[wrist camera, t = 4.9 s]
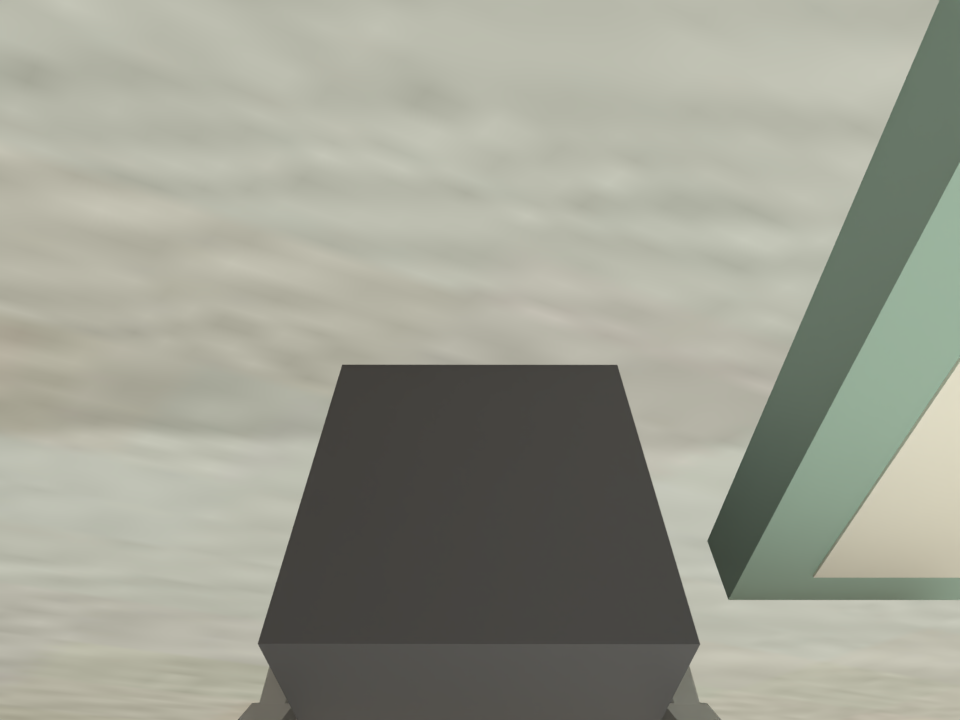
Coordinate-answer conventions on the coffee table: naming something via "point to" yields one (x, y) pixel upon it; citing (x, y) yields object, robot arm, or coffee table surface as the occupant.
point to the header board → (869, 383)
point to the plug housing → (479, 554)
